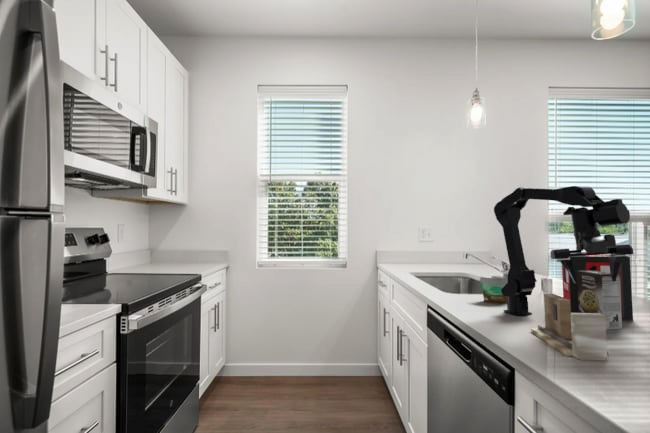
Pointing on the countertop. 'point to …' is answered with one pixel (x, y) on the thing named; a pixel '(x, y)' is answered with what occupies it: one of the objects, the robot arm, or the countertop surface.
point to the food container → (493, 290)
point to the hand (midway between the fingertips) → (594, 282)
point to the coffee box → (600, 296)
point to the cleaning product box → (602, 265)
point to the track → (580, 337)
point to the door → (558, 315)
